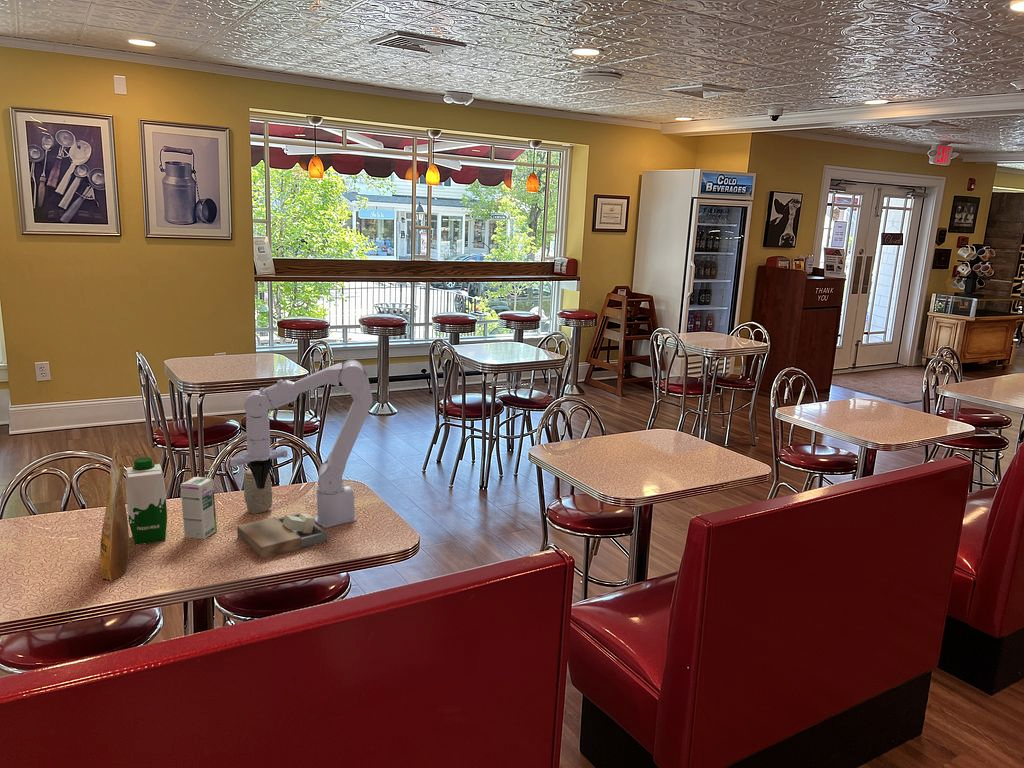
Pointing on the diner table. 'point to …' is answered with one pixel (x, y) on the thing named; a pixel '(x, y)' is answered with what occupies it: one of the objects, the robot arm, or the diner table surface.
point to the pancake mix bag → (115, 525)
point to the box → (310, 535)
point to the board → (268, 537)
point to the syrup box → (198, 507)
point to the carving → (257, 494)
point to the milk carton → (146, 501)
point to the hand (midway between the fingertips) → (260, 487)
